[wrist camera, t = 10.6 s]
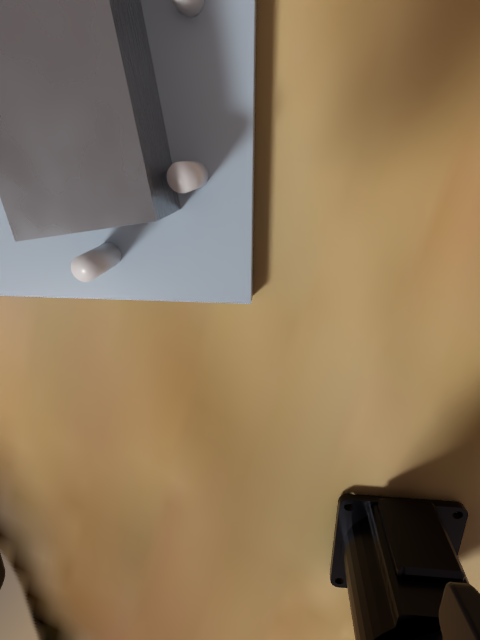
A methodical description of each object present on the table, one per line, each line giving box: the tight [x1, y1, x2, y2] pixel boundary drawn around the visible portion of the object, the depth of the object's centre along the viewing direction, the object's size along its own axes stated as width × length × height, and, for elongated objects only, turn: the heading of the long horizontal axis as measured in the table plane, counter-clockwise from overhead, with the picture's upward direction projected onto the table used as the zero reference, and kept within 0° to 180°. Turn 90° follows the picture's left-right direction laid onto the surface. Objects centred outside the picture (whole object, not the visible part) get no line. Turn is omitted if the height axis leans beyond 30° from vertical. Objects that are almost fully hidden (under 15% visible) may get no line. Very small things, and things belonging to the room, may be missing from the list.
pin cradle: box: [0, 0, 256, 304], centre depth 15 cm, size 16×12×4 cm
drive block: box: [0, 0, 181, 242], centre depth 14 cm, size 9×5×4 cm, turn 9°
